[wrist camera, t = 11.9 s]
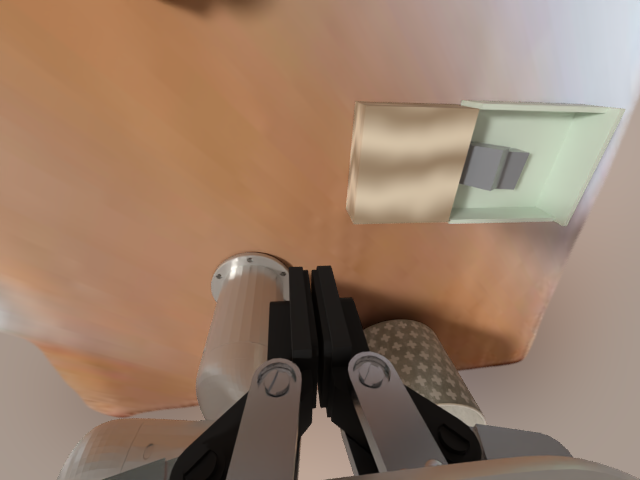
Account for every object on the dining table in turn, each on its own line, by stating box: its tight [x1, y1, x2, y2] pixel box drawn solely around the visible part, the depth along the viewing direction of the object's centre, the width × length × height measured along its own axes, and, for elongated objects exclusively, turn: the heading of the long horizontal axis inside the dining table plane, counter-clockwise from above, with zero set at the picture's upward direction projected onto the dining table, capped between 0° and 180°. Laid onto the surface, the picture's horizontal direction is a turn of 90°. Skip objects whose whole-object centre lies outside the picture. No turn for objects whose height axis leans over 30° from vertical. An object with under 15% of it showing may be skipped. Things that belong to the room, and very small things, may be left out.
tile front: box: [459, 141, 510, 191], centre depth 38 cm, size 5×5×2 cm
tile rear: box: [495, 148, 530, 190], centre depth 40 cm, size 5×5×2 cm
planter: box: [363, 319, 487, 427], centre depth 50 cm, size 19×19×18 cm
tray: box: [448, 100, 625, 226], centre depth 39 cm, size 15×17×6 cm
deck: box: [346, 101, 480, 224], centre depth 37 cm, size 14×13×5 cm
